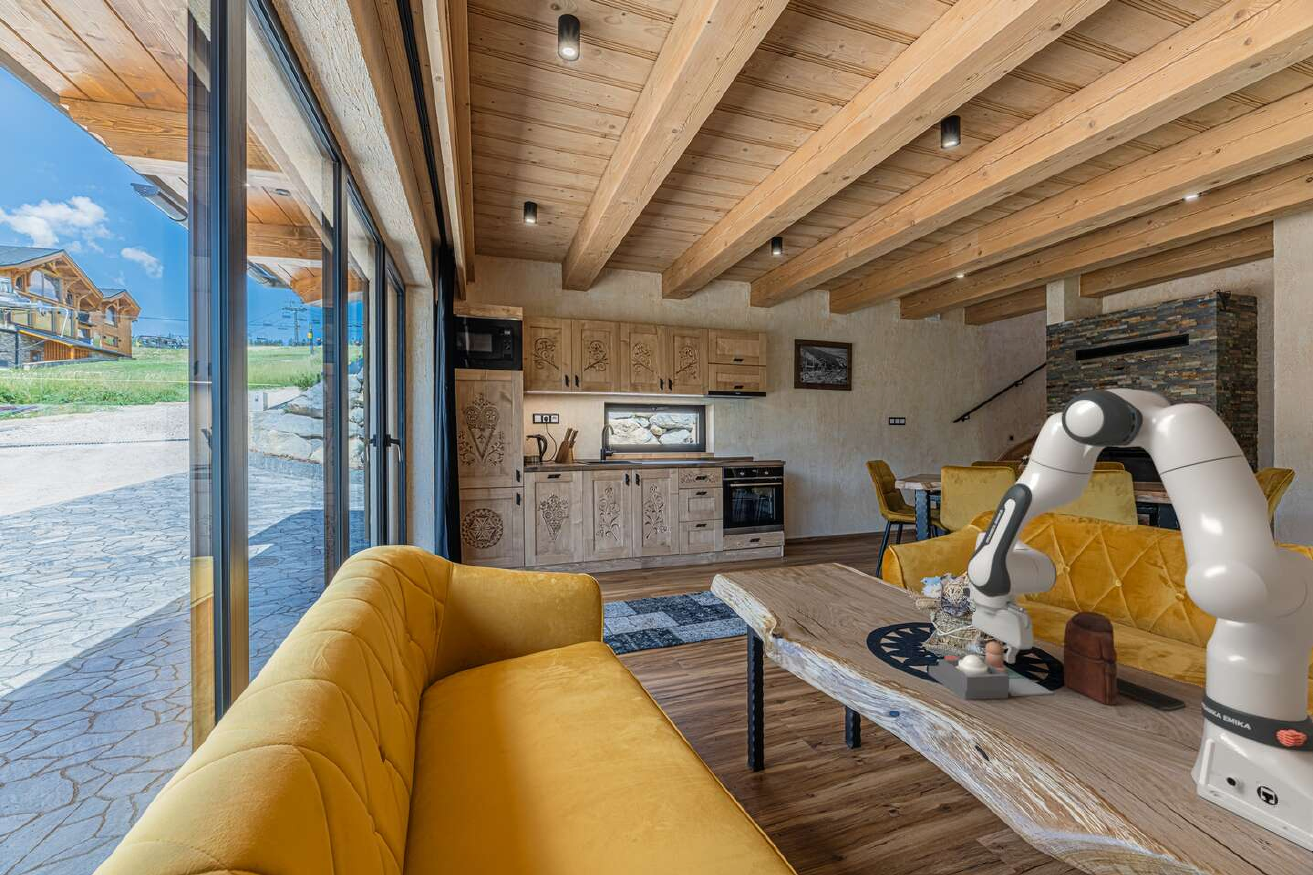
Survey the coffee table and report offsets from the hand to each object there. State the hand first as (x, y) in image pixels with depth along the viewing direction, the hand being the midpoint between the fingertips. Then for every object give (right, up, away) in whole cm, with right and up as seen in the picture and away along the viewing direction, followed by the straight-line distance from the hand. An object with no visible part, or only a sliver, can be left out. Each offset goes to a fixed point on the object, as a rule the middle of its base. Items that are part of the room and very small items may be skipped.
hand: (994, 654), depth 135 cm
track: (0, -5, -4) cm, 6 cm away
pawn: (0, -4, 0) cm, 4 cm away
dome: (-11, -2, -9) cm, 14 cm away
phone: (+25, -6, -10) cm, 28 cm away
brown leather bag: (+15, -5, -10) cm, 19 cm away
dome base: (-11, -4, -7) cm, 14 cm away
